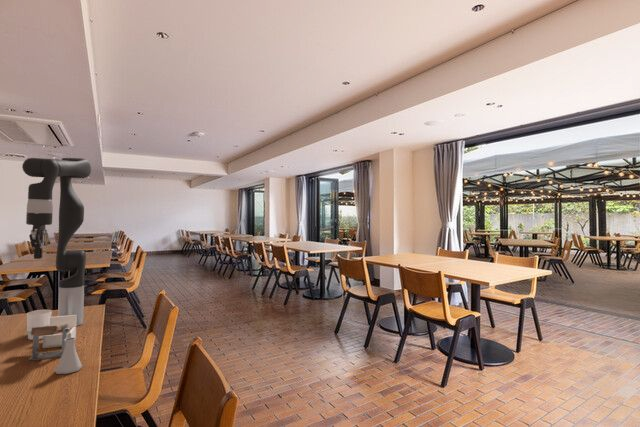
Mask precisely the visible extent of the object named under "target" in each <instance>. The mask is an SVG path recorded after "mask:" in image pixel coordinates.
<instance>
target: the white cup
mask: <svg viewBox="0 0 640 427" xmlns="http://www.w3.org/2000/svg"><path fill="white" fill-rule="evenodd" d="M52 313H53V310H52V309H37V310H32V311H29V312H27V313H26V328H27V331H31V330H32V328H35V327H44V326H50V317H53V314H52ZM41 339H42V340H43V336H39V340H41ZM27 340H31V341H33V335H31V334H27Z"/></svg>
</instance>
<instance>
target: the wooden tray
mask: <svg viewBox="0 0 640 427" xmlns="http://www.w3.org/2000/svg"><path fill="white" fill-rule="evenodd" d="M64 326H68V324H64V325H61V326H58V327H57V326H44V327H35V328H32V330H31V331H25V333H24V334H25V336H26V335H27V336H28V334H33V333H34V337H35V336H46V335H54V334H56V333H59V332H63V327H64Z"/></svg>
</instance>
